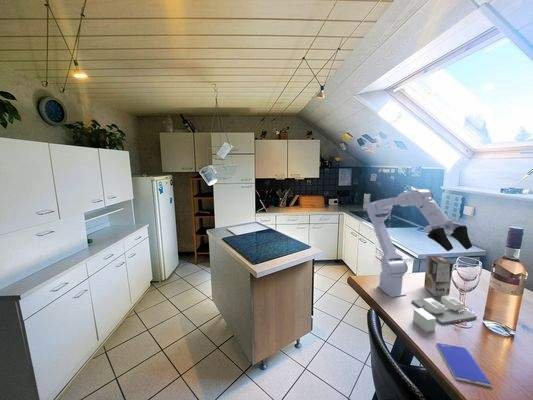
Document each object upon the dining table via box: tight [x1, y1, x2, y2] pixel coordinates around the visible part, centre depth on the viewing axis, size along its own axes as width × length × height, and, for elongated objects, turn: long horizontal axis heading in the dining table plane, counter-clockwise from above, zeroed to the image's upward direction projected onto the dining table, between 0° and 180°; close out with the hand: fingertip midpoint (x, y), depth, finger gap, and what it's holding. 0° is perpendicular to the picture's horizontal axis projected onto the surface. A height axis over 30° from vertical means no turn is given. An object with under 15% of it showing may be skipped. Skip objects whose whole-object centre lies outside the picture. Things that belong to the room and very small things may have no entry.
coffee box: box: [423, 255, 454, 297], centre depth 104 cm, size 9×6×16 cm
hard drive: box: [436, 342, 492, 387], centre depth 67 cm, size 2×8×12 cm
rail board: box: [411, 294, 478, 326], centre depth 92 cm, size 14×16×4 cm
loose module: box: [412, 308, 437, 333], centre depth 83 cm, size 6×4×5 cm, turn 10°
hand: (460, 248), depth 74 cm, fingers open, 7 cm apart
